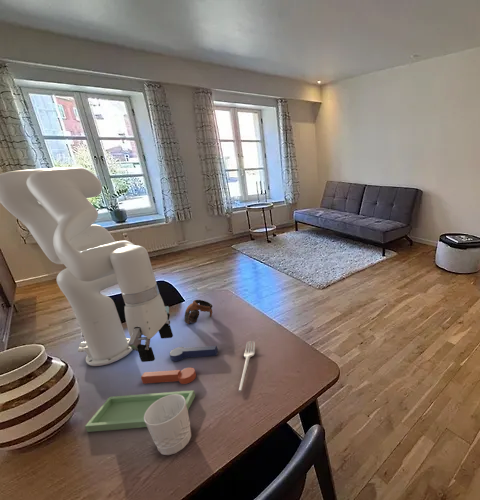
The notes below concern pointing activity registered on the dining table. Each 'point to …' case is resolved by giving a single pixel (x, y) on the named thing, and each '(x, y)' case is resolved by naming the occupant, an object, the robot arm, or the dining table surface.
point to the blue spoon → (192, 352)
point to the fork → (247, 356)
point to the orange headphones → (196, 310)
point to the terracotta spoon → (170, 376)
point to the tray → (128, 411)
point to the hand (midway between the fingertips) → (158, 348)
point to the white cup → (169, 423)
